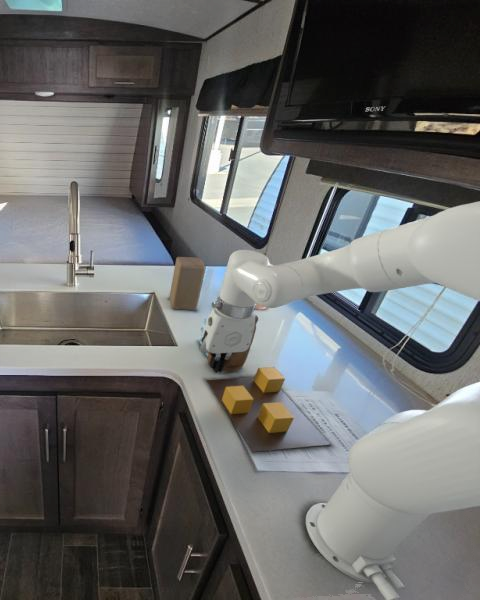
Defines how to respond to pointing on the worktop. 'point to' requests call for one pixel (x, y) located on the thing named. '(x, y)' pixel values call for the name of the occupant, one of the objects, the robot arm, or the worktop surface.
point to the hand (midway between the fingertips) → (215, 368)
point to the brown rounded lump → (237, 356)
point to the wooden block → (187, 283)
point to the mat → (254, 430)
